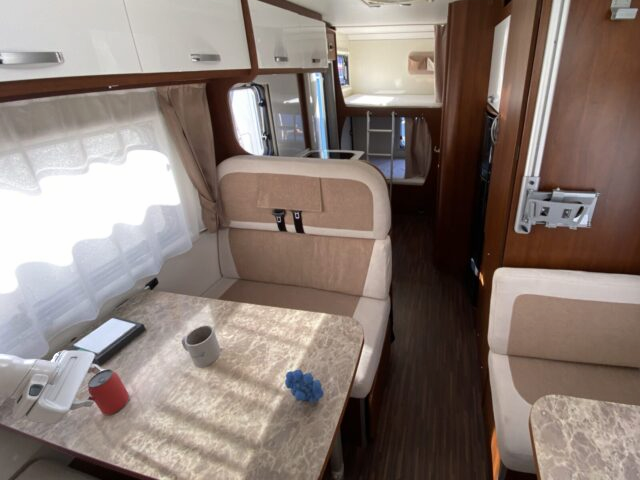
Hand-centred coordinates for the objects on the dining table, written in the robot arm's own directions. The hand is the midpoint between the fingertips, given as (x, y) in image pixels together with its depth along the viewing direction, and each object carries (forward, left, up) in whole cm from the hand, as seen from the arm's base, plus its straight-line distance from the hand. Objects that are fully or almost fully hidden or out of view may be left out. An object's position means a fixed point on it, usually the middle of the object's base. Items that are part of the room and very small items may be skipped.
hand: (99, 387), depth 88 cm
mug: (+22, -13, -9) cm, 27 cm away
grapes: (+17, -57, -9) cm, 60 cm away
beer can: (+1, -1, -9) cm, 9 cm away
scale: (+17, +27, -9) cm, 33 cm away
